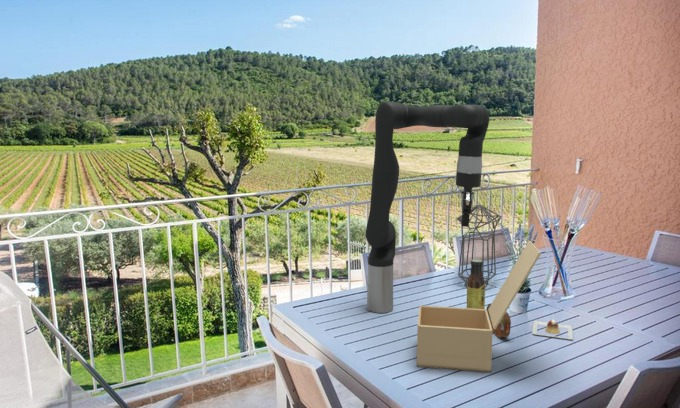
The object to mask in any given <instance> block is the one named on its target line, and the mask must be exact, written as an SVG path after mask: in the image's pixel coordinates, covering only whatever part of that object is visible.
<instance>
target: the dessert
mask: <svg viewBox="0 0 680 408" xmlns="http://www.w3.org/2000/svg"><path fill="white" fill-rule="evenodd" d="M538 325H540V326H541V325H542V326H546V327H545V329H544V331H545V332H546V333H548V334H552V335H546V334H539V333H538ZM560 328H562V329H567V336H568V337H560V336H553V335H558V334H560V333H561V332H560ZM531 334H532V335H535V336H540V337H546V338H554V339H555V338H556V339H560V340H561V339H562V340H569V341H571V340H574V332H573V325H569V324H561V323H558V322H556V320H555V319H554V318H553V319H550V320H549V321H548V322H546V321H545V322H544V321H538V320H533V325H532V332H531Z"/></svg>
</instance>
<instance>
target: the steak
mask: <svg viewBox="0 0 680 408" xmlns="http://www.w3.org/2000/svg"><path fill="white" fill-rule="evenodd" d="M491 304H492V303H488V305H487V306H486V309H485V310H487V312H488V316H489V319H490V323H491V326H492V330H493V333H492V334H494V335H495V336H496V337H497V338H508V337H509V336H510V334H511V325H512V321H511V316H510V315H509V313H508V312H507V311H506V313H505V314H504V316H503V318H502V319H501V321H500V323H499V324H498V326H497V328H496V329H494V328H493V325H492V321H491V318H490V314H489V311H488V309H489V307H490V306H491Z"/></svg>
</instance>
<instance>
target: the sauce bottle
mask: <svg viewBox="0 0 680 408" xmlns="http://www.w3.org/2000/svg"><path fill="white" fill-rule="evenodd" d="M482 265H483V261H482V259H476V258H475V259H474V258H473V260H472V259H471V260H470V269H471V270H470V274H469V276H467V277H468V279H467V282H468V283H467V286H466V308H473V309H485V306H486V305H485V304H486V287H485V286H486V283H485V280H486V279H484V278H485V276H484V273H483V274H482ZM485 310H486V309H485Z"/></svg>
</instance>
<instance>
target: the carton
mask: <svg viewBox="0 0 680 408" xmlns="http://www.w3.org/2000/svg"><path fill="white" fill-rule="evenodd" d="M416 331H417V335H416V336H417V341H416V342H417V343H416V344H417V345H416V347H417V348H416V367H418V368H419V367H420V368H429V369H430V368H431V369H444V370H456V371H470V372H480V371H482V373H491V372H492V354H493V352H492V350H493V334H494V333H493V330H492V326H491V323H490V319H489V316H488V312H487V310H486V309H473V308H467V307H451V306H434V305H419V308H418V317H417V330H416Z"/></svg>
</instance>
